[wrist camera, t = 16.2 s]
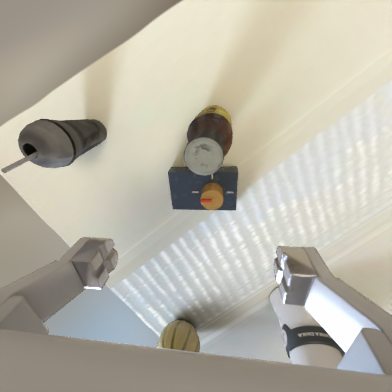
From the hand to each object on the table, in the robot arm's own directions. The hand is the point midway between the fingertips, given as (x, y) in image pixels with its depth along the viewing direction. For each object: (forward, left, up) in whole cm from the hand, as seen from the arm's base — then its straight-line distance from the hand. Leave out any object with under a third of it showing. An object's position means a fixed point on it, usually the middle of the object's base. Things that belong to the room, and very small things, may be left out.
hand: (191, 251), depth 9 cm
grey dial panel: (+2, +11, -31) cm, 33 cm away
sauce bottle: (0, -2, -31) cm, 31 cm away
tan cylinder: (0, +11, -28) cm, 30 cm away
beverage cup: (+24, -1, -31) cm, 40 cm away
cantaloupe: (+12, +69, -31) cm, 76 cm away
